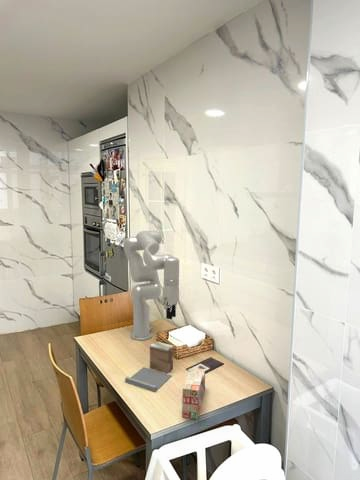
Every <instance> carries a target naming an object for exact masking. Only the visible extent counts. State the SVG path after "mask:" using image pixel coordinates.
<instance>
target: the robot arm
mask: <svg viewBox="0 0 360 480" xmlns="http://www.w3.org/2000/svg"><path fill="white" fill-rule="evenodd" d="M162 239H163V238H162V234H161V233H160V232H159V231H158V230H142V231H139V232H138V233H137V234H136V235H135V236H129V237H127V238H125V239H124V241H123V250H124V254H125V256H126V258H127V260H128V266H129V271H130V272H129V273H130V277H131V280H132V282H134V283H139V284H137V285H133V287H132V288H131V297H132V298H131V299H132V304H133V305H132V306H133V307H132V308H133V314H132V317H133V319H132V320H133V321H132V322H133V323H132V324H133V327H132V328H133V331H132V332H131V333H130V338H131V339H133V340H136V341H145V340H149V339H150V338H152V337H153V332H151V330H152V329H153V328H154V327H153V325H150V315H151V314H150V305H149V304H148V303H147V301H148V300H155V299H158V298H160V296H161V306H163V309H164V310H165V318H166V319H167V320H173V318H176V316H177V313H176V312H177V305H178V303H179V301H180V258H178V257H176V256H174V255H173V254H170V253H165V254H157V253H158V252H159V250H160V244H161V243H162ZM138 251H143V253H142V254H143V255H142V256H141V254H140V253H138ZM161 270H163V287H161V284H160V283H161V282H160V278H159V273H158V271H161ZM144 282H147V283H144ZM140 283H141V284H140ZM161 288H162V289H161Z"/></svg>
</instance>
